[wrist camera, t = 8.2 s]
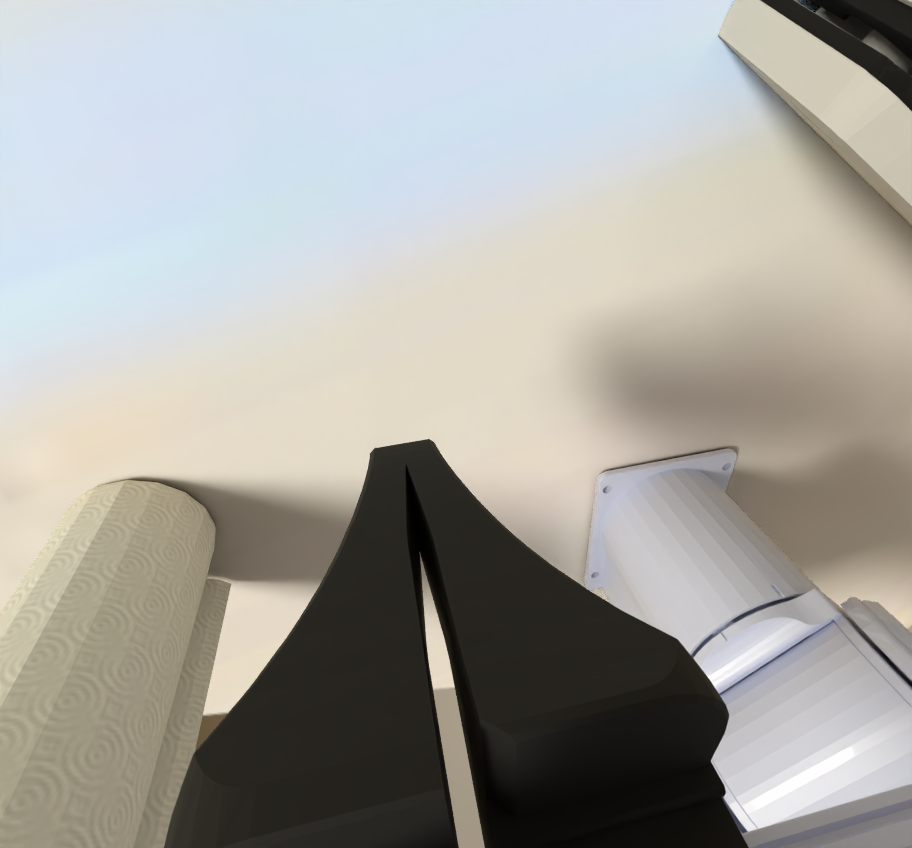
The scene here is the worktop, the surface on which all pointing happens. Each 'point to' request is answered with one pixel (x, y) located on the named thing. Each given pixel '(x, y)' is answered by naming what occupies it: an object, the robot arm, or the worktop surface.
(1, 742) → the paper towel roll
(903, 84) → the beige piece
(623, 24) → the worktop surface
